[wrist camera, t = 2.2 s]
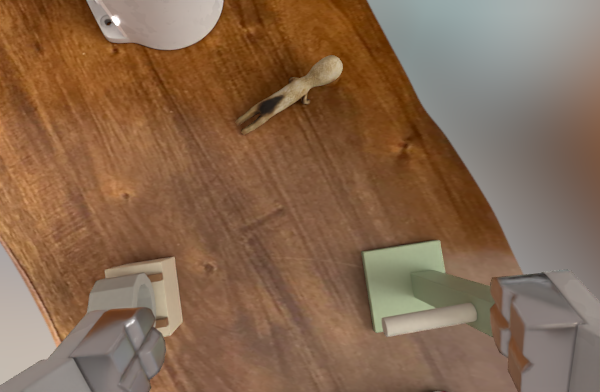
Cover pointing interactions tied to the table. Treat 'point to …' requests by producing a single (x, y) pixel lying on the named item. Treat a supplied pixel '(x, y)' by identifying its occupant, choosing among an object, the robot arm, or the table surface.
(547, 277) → the robot arm
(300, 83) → the figurine
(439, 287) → the hook stand
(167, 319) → the tape cradle
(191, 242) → the table surface
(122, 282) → the tape
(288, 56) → the table surface
